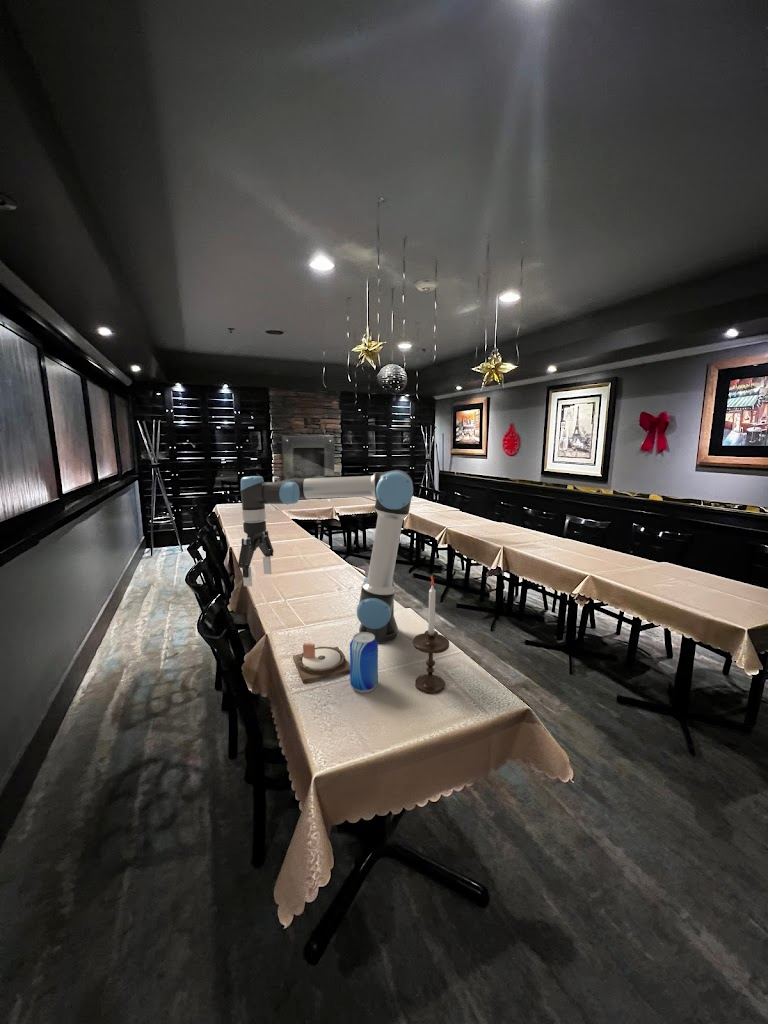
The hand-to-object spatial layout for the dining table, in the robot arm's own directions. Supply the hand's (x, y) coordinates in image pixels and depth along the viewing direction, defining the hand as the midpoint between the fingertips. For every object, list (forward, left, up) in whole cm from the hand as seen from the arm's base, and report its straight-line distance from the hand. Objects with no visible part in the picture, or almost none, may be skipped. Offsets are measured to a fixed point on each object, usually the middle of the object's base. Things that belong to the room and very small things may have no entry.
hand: (258, 579), depth 143 cm
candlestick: (-61, +17, -26) cm, 69 cm away
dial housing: (-25, +10, -25) cm, 37 cm away
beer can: (-41, +20, -26) cm, 53 cm away
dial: (-25, +10, -24) cm, 36 cm away
